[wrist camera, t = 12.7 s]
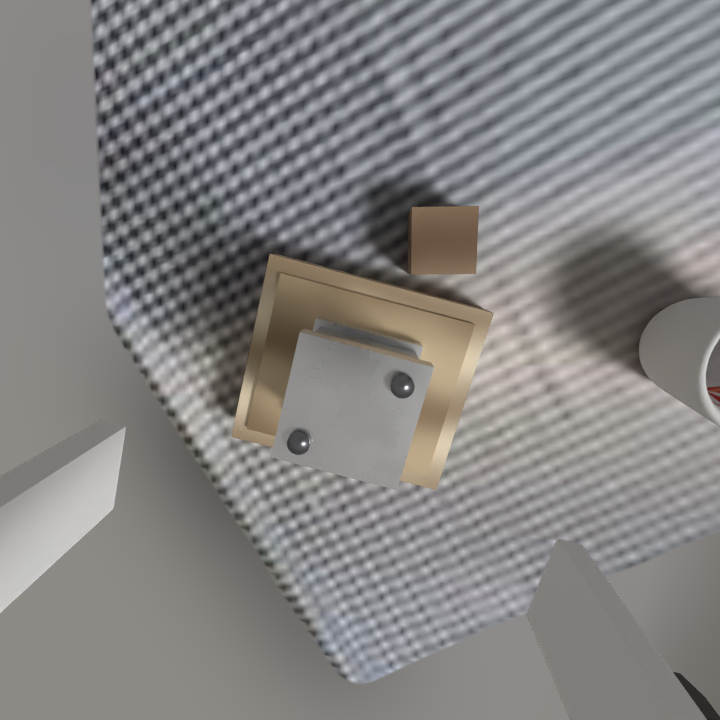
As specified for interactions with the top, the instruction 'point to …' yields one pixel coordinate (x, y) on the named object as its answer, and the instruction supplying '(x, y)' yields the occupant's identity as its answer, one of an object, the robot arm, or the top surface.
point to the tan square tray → (370, 311)
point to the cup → (686, 353)
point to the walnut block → (442, 240)
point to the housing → (352, 402)
